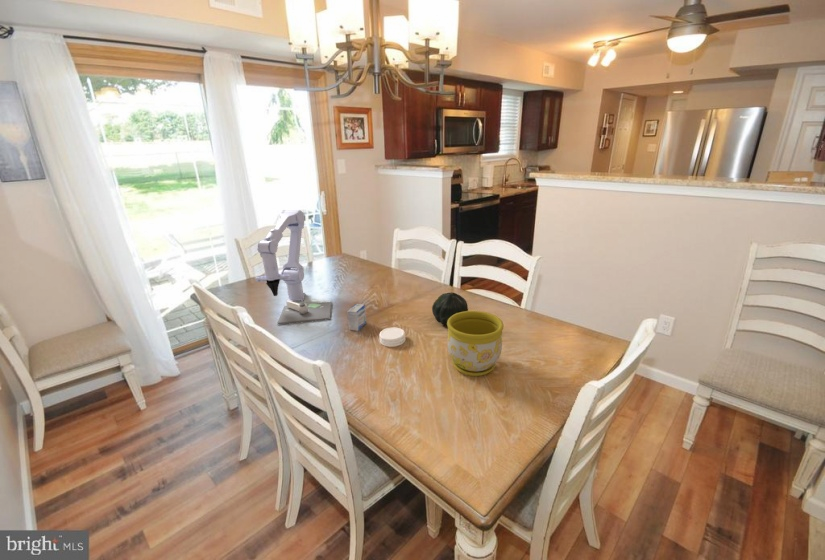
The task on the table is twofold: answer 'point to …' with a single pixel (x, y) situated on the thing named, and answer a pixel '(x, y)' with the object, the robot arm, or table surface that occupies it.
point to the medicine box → (356, 317)
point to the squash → (448, 306)
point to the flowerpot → (474, 341)
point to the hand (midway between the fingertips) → (275, 295)
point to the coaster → (392, 337)
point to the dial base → (314, 313)
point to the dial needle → (297, 307)
